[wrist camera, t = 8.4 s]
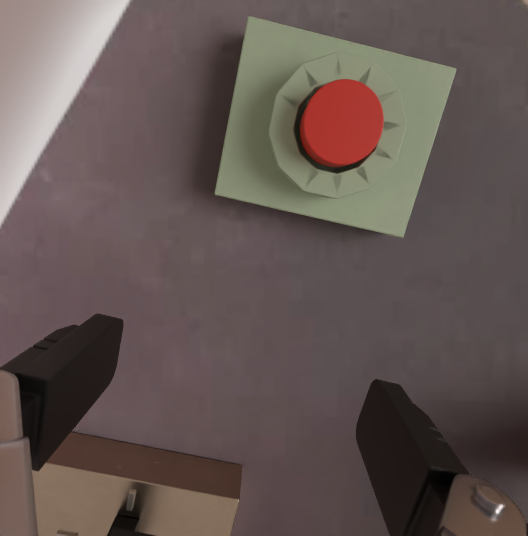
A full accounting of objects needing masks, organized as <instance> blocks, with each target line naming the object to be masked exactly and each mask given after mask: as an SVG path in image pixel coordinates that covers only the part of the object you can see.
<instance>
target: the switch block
mask: <svg viewBox="0 0 528 536" xmlns="http://www.w3.org/2000/svg"><path fill="white" fill-rule="evenodd" d="M455 73H456V68H453V67H449V66H445V65H441V64H437V63H433V62H429V61H425V60H421V59H417V58H413V57H409V56H405V55H401V54H397V53H393V52H389V51H386V50H382V49H378V48H374V47H370V46H366V45H362V44H358V43H354V42H350V41H346V40H342V39H338V38H334V37H330V36H326V35H322V34H318V33H314V32H310V31H306V30H302V29H298V28H295V27H291V26H287V25H283V24H279V23H275V22H271V21H267V20H263V19H259V18H255V17H251V16H248V18H247V24H246V29H245V34H244V40H243V45H242V50H241V55H240V61H239V66H238V71H237V77H236V82H235V87H234V92H233V98H232V103H231V108H230V114H229V119H228V124H227V129H226V135H225V140H224V145H223V151H222V156H221V161H220V167H219V172H218V177H217V182H216V188H215V195H217V196H222V197H226V198H230V199H235V200H239V201H244V202H248V203H252V204H257V205H261V206H265V207H270V208H274V209H278V210H283V211H287V212H292V213H296V214H300V215H305V216H309V217H313V218H318V219H322V220H326V221H331V222H335V223H339V224H344V225H348V226H353V227H357V228H361V229H366V230H370V231H374V232H379V233H383V234H387V235H392V236H396V237H401V238H402V237H403V236H404V233H405V230H406V227H407V224H408V221H409V217H410V214H411V211H412V208H413V205H414V202H415V199H416V195H417V192H418V189H419V186H420V183H421V180H422V177H423V173H424V170H425V167H426V164H427V161H428V158H429V155H430V151H431V148H432V145H433V142H434V139H435V136H436V133H437V129H438V126H439V123H440V120H441V117H442V114H443V111H444V107H445V104H446V101H447V98H448V95H449V92H450V89H451V85H452V82H453V79H454V76H455ZM340 79H351V80H356V81H359V82H361V83H363V84H365V85H366V86H368V87H369V88H370V89H371V90H372V91H373V92H374V93H375V94H376V95H377V97H378V99H379V101H380V103H381V105H382V109H383V114H384V125H383V131H382V134H381V137H380V139H379V141H378V143H377V145H376V146H375V148H374V149H373V150H372V151H371V152H370V153H369V154H368V155H367V156H366V157H365V158H363V159H361V160H360V161H358V162H355V163H352V164H349V165H346V166H342V167H328V166H324V165H322V164H319V163H318V162H316V161H314V160H313V159H312V158H311V157H310V156H309V155H308V154H307V152H306V151H305V149H304V147H303V145H302V142H301V137H300V123H301V119H302V115H303V113H304V111H305V109H306V107H307V105H308V103H309V101H310V99H311V98H312V96H313V95H314V94H315V93H316V92H317V91H318V90H319V89H320V88H321V87H323V86H324V85H326V84H327V83H330V82H332V81H335V80H340Z"/></svg>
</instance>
